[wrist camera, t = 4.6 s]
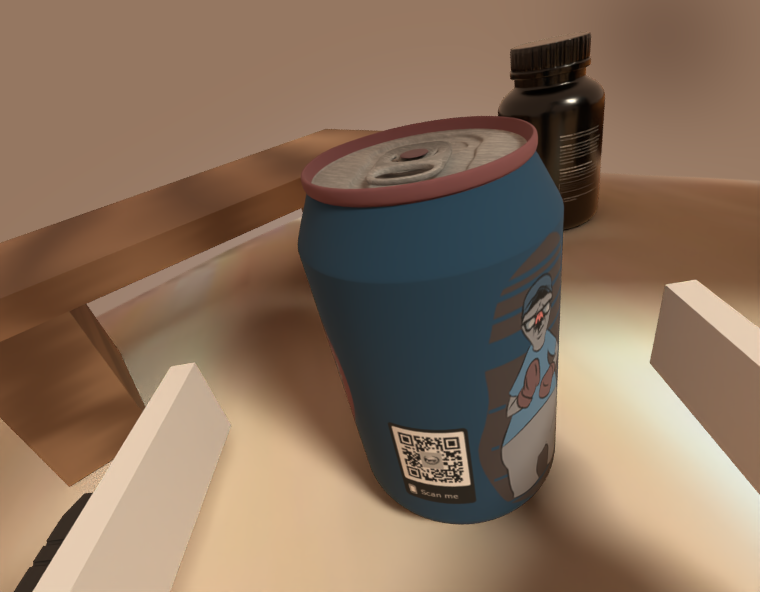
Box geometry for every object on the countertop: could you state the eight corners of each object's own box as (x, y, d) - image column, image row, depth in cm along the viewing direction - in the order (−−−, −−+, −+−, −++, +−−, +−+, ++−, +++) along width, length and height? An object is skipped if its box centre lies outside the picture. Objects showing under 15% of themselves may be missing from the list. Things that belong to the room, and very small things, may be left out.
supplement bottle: (589, 194, 34) (601, 24, 28) (604, 230, 29) (624, 30, 23) (502, 202, 36) (496, 46, 30) (501, 237, 31) (493, 55, 25)
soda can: (395, 385, 20) (333, 131, 14) (548, 394, 18) (556, 96, 12) (351, 526, 15) (216, 215, 9) (561, 564, 13) (588, 179, 6)
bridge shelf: (351, 233, 37) (325, 129, 33) (432, 260, 30) (413, 132, 25) (53, 386, 26) (-53, 261, 21) (69, 486, 19) (-85, 333, 14)
